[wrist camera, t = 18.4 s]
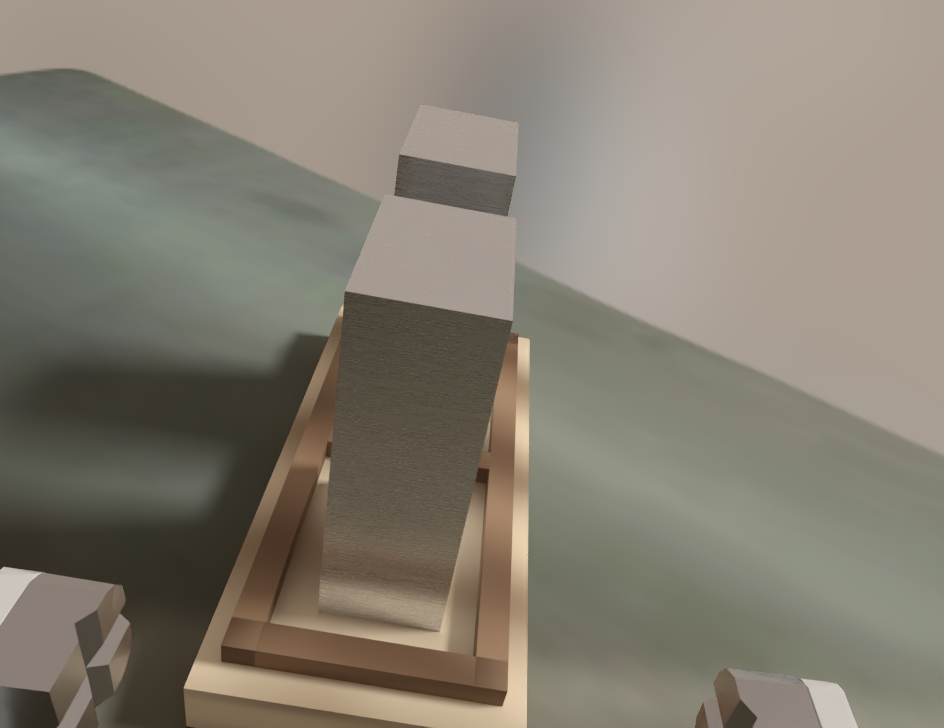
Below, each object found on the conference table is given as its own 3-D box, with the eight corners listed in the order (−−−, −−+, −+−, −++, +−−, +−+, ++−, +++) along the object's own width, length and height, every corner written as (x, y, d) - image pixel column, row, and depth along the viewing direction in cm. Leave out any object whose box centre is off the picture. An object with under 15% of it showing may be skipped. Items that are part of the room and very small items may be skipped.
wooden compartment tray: (512, 777, 23) (532, 727, 22) (186, 726, 23) (182, 671, 21) (521, 369, 42) (532, 326, 40) (339, 337, 41) (343, 292, 40)
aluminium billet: (439, 631, 25) (512, 320, 18) (317, 612, 25) (344, 290, 18) (455, 500, 30) (516, 218, 23) (353, 483, 30) (384, 194, 23)
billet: (460, 442, 33) (515, 176, 26) (367, 426, 33) (399, 154, 26) (469, 363, 38) (518, 123, 31) (389, 349, 37) (420, 104, 31)
